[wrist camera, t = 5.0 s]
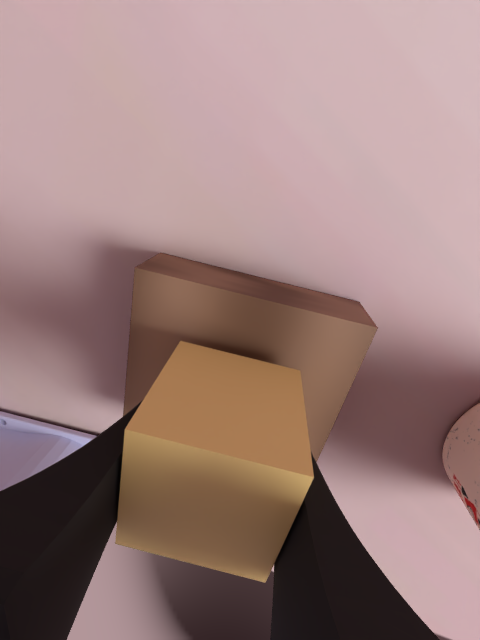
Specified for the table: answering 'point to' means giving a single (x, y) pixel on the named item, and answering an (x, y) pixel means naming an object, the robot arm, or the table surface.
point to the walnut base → (247, 331)
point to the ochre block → (216, 462)
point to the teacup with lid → (465, 460)
